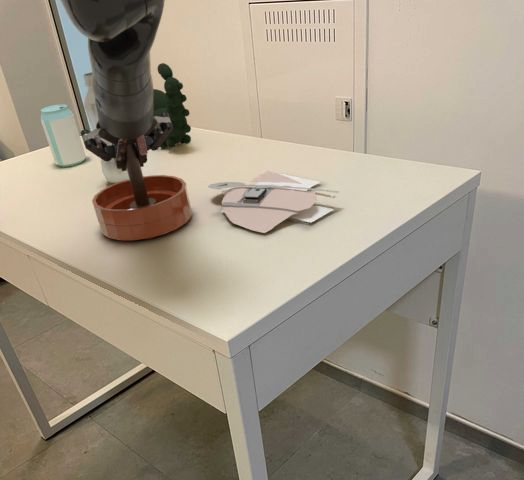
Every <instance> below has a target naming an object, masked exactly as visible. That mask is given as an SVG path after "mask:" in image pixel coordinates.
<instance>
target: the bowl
mask: <svg viewBox="0 0 524 480" xmlns="http://www.w3.org/2000/svg"><path fill="white" fill-rule="evenodd" d="M143 178H144V182H145V186H146V190H147V194H148V198H153V199H155V200H156V204H153V205H149V206H145V207H141V208H133V209H130V206H129V205H130V204H131V203H132V202H133V201H135V199H134V195H133V191H132V187H131V183H130V180H129V179H128V180H124V181H121V182H118V183H112V184H110V185H108V186H107V187H105V188H102V189H101V190H99V191H98V192H97V193H96V194H95V195H93V198H92V200H91V202H92V206H93V209H94V213H95V215H96V219H97V222H98V225H99V228H100V232H101V234H102V235H104V236H105V237H107V238H109V239H112V240H118V241H138V240H146V239H151V238H155V237H159V236H163V235H166V234H168V233H170V232H173V231H175V230H177V229H179V228H181V227H182V226H184V225H185V224H186V223H187V222H188V221H189V220H190V219H191V217H192V206H191V201H190V197H189V192H188V191H189V190H188V186H187V183H186V181H184V180H183V179H182V178H181V177H177V176H175V175H165V174H153V175H143Z"/></svg>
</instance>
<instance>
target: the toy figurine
mask: <svg viewBox="0 0 524 480" xmlns="http://www.w3.org/2000/svg"><path fill="white" fill-rule="evenodd" d="M157 72H158V74H159V75H160V77H161V78H162V79H163V80H164V84H163V89H164V91H163V90H160V89H158V88H157V89H156V88H153V89H154V97H153V109H154V114H155V116H160V115H161V114H162V113H164V112H167V113H168V115H169V118H170V121H171V123H172V126H173V130H172V131H171V133H170V134H169V135H168V137H167V138H166V139H165V141H164V142H163V143H162V144H161V146H160V147H159V148H160V149H162V150H165V149H167V148H169V149H171V148H174V147H176V145H178V144H181V145H182V144H183V145H184V144H186V145H187V144H190V143H191V140H192V136H191V135H189V134H188V133H190V132H191V131H192V127H191V126H190V125H189V124H188V120H187V117H188V116H190V110H189V109H187V108H186V107H185V105H184V103H185V102H186V101H187V96H186V95H185V94H183V92H182V91H181V90H182V89H183V88H184V85H183V83H182V82H181V81H179V79H178V78H176V77H174V73H173V69H172V68H171V67H170V66H169V65H168V64H167V63H164V62H162V63H159V64H158V65H157ZM155 138H156V136H155Z"/></svg>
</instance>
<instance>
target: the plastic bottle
mask: <svg viewBox="0 0 524 480" xmlns="http://www.w3.org/2000/svg"><path fill="white" fill-rule="evenodd" d="M82 77H83V81H84V85H85V86H84V87H86V88H87V91H86V94H85V97H84V102H83V104H84V106H83V107H84V111H85V113H86V115H87V118H88V121H89V123H90V124H91V127H92V131H93V130H95V129H96V124H97V122H98V120H99V119H98V113H97V108H96V102H95V97H94V91H93V85H92V71H91V72H87V73H85V74H83V76H82ZM100 139H101V140H102V141H104V142H105V143H107V145H111V143H110V142H108V141H106V140H104V139H102V138H100ZM100 166H101V172H102V175H103V177H104V179H105V180H106V181H107V182H108V183H110V184H115V183H118V182H121V181H124V180H128V179H129V176H128V172H127V171H122V170H121V169H118V168H117V167H116V164H115V161H114V158H112V159H111V160H110V161H107V162H106V161H104V160H102V159H101V158H100ZM126 170H127V168H126Z"/></svg>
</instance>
